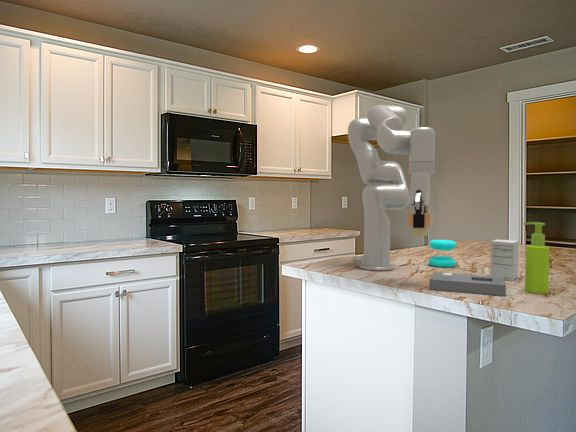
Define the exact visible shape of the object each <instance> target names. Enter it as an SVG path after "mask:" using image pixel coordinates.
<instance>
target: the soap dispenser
mask: <svg viewBox="0 0 576 432" xmlns="http://www.w3.org/2000/svg"><path fill="white" fill-rule="evenodd" d="M522 225H524V226H526V225H534V232H533V233H531V239H530V242H531V243H530V244H527V245H526V246H525V270H524V271H525V273H524V292H527V293H532V294H538V295H541V294H542V295H544V294H546V295H547V294H549V278H550V277H549V275H550V274H549V273H550V250H551V249H550V246H549V245H546V234H545V233H543V226H545V225H546V223H545V222H539V221H529V222H523V223H522Z"/></svg>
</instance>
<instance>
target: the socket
mask: <svg viewBox="0 0 576 432" xmlns="http://www.w3.org/2000/svg"><path fill="white" fill-rule="evenodd" d="M428 286H429V287H428V290H431V291H443V292H444V291H445V292H453V293H454V292H455V293H465V294H477V295H488V296H489V295H490V296H499V297H506V296H507V295H506V294H507V284H506V280H504V278H503V277H497V276H490V275H481V274H468V273H467V274H465V273H454V272H453V273H451V272H440V271H433V273H432V274H431V276H430V277H429V285H428Z"/></svg>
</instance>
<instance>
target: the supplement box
mask: <svg viewBox="0 0 576 432" xmlns="http://www.w3.org/2000/svg"><path fill="white" fill-rule="evenodd" d="M519 246H520V241H519V240H514V239H513V240H511V239H499V238H498V239H494V240H491V241H490V258H489V259H490V260H489V276H497V277H503V278H504V281H511V282H512V281H514V280H516V279H517V278H519V250H520V248H519Z"/></svg>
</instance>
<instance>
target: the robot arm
mask: <svg viewBox="0 0 576 432" xmlns="http://www.w3.org/2000/svg"><path fill="white" fill-rule="evenodd" d="M407 122H408V113H407V110H406V109H405V108H404V107H402V106H399V105H389V104H377V105H374V106H372V107H371V108H369V110H368V111H367V113H366V117H357V118H355V119H353V120H351V121H350V122H349V125H348V127H347V138H348V144H349V146H350V148H351V150H352V152H353V154H354V156H355V160H356V162H357V166H358V170H359V174H360V178H361V181H362V182H363V183H364V184H365V185H366V186H365V187H364V188H363V190H362V195H361V196H362V203H363V215H364V217H363V218H364V228H363V229H364V230H363V233H364V234H363V235H364V236H363V255H361V256H356V255H354V256H352V262H360V264H359V268H360V269H363V270H368V271H378V272H379V271H380V272H381V271H393V270H394V267H395V266H394V265H393V264H391V263H390V260H391V259H390V258H391V219H390V217H389V216H388V214H387V212H386V211H385V210H403V209H406V208H407V207H408V206H409V205H410V206H413V213H414V215H413V226H412V229H413V228H424V218H425V215H423V214H424V213H428V205H430V198H431V174H435V167H436V166H435V160H436V159H435V157H436V154H435V152H436V131H435V129H434V128H432V127H426V126H425V127H424V126H422V127H421V126H419V127H414V128H412V129H411V130H403V129H404V127H405V126H406V125H407ZM369 141H376V142H377V145H378V147H379V148H380V149H382V151H384V152H385V153H387V154H390V155H408V174H410V175H411V177H410V187H408V185H407V180H406V178H405V177H406V176H405V174H404V171H403V168H402V166H401V165H400V164H399V163H398V162H396V161H393V160H382V159H380V156H379V153H378V151H377V149H376V147H375V146H374V145H373V144H372V143H370V142H369Z"/></svg>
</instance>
